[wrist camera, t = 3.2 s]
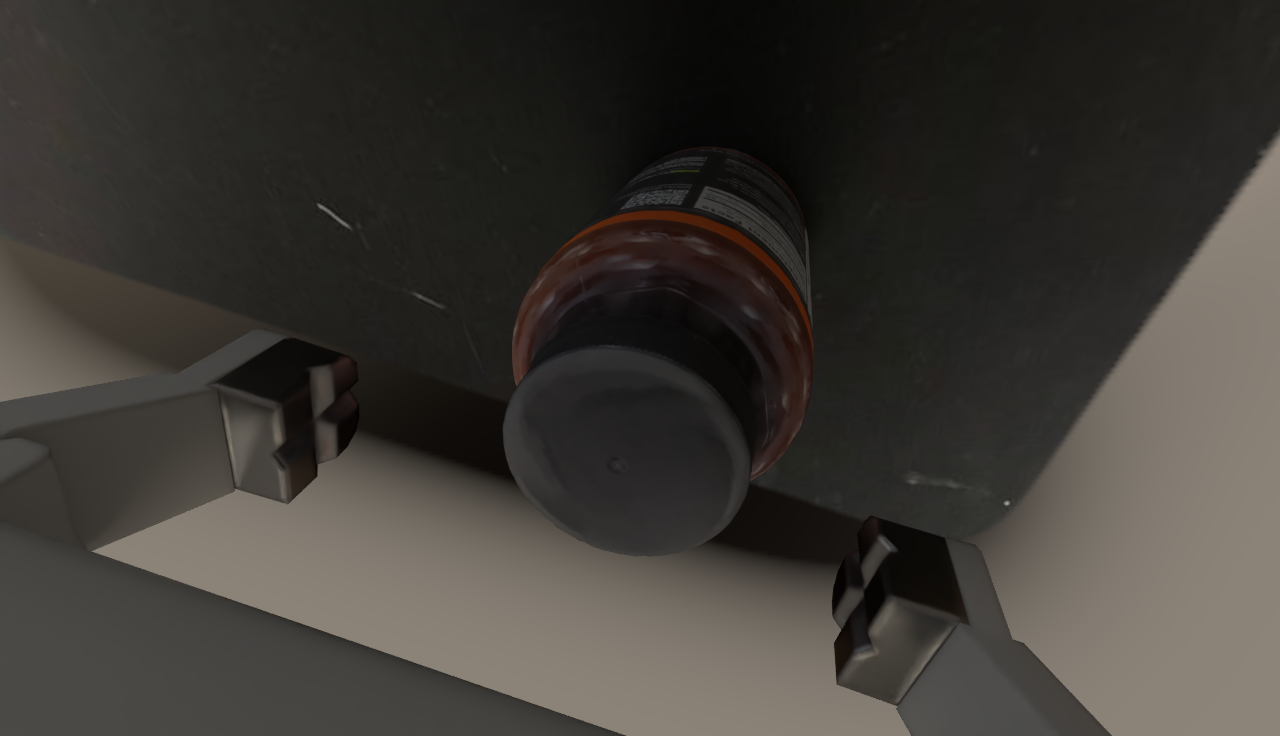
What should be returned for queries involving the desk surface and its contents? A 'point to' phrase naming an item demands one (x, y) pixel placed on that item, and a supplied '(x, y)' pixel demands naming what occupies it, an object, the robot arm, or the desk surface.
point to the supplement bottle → (664, 355)
